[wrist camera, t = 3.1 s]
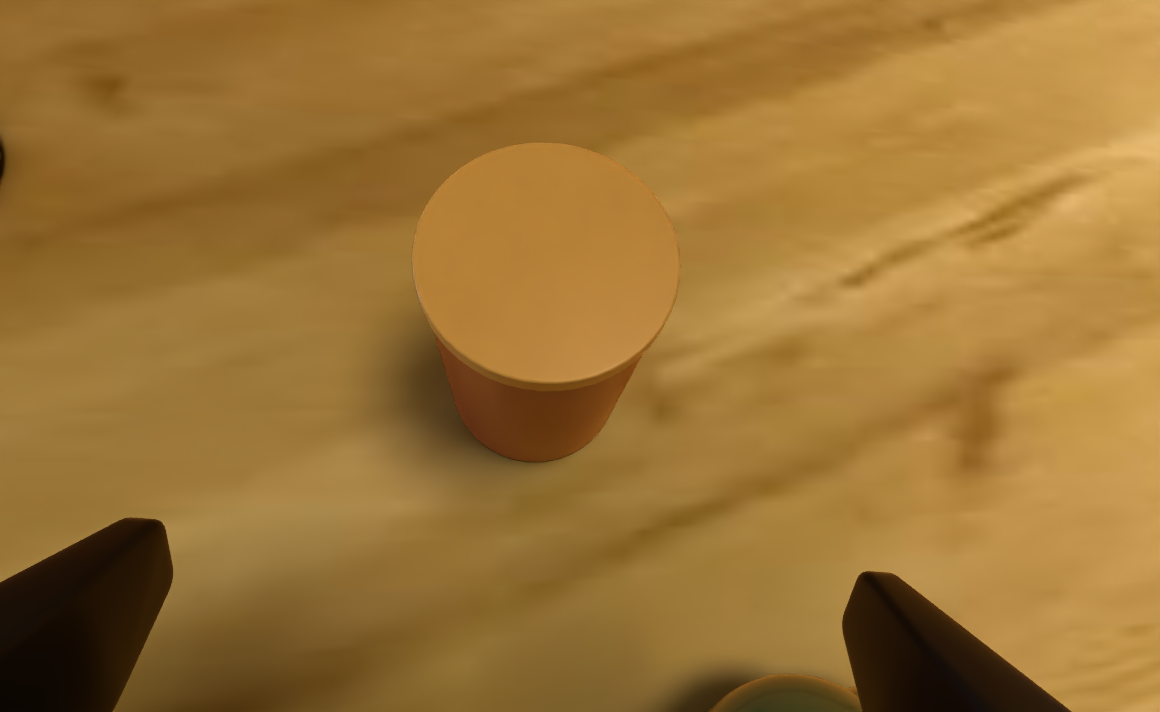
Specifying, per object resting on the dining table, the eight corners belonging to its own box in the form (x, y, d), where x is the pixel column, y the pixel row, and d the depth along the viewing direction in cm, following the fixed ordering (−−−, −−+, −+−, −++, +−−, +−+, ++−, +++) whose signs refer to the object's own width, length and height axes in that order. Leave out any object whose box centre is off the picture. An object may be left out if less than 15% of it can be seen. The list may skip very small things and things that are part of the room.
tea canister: (466, 482, 21) (435, 409, 13) (436, 319, 23) (392, 160, 15) (637, 445, 22) (713, 354, 14) (596, 291, 24) (643, 125, 16)
